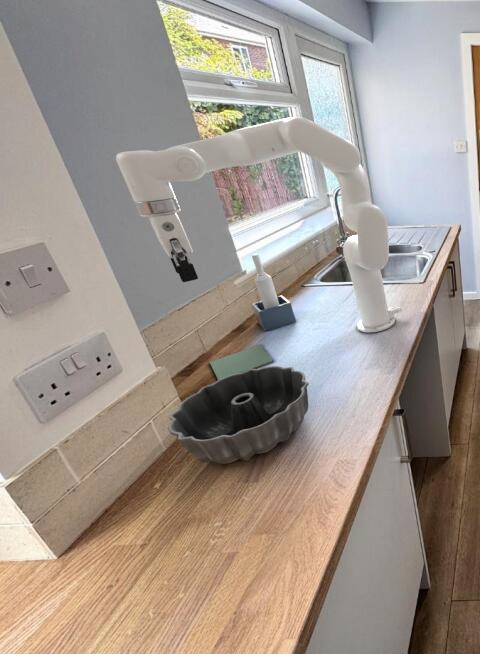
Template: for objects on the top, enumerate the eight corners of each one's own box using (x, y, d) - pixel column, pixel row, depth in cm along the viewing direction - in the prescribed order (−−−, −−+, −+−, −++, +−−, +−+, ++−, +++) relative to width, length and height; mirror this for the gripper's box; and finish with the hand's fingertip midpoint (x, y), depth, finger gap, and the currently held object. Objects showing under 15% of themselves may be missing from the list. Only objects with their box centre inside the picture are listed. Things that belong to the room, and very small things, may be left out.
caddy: (287, 313, 153) (281, 295, 150) (296, 321, 146) (290, 302, 143) (258, 322, 147) (251, 303, 143) (265, 331, 140) (258, 311, 137)
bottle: (272, 318, 148) (250, 252, 138) (286, 316, 149) (266, 251, 138) (265, 324, 144) (243, 257, 133) (280, 323, 144) (259, 256, 133)
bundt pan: (294, 384, 110) (284, 353, 106) (336, 428, 93) (326, 393, 89) (176, 436, 93) (158, 401, 89) (201, 502, 76) (180, 463, 72)
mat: (260, 345, 131) (260, 344, 131) (273, 361, 121) (273, 360, 121) (209, 363, 122) (209, 362, 122) (219, 382, 113) (218, 380, 113)
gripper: (184, 208, 90) (211, 279, 98) (173, 200, 102) (199, 264, 109) (141, 215, 86) (173, 289, 93) (135, 206, 97) (164, 272, 104)
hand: (187, 275), depth 101 cm, fingers open, 9 cm apart
